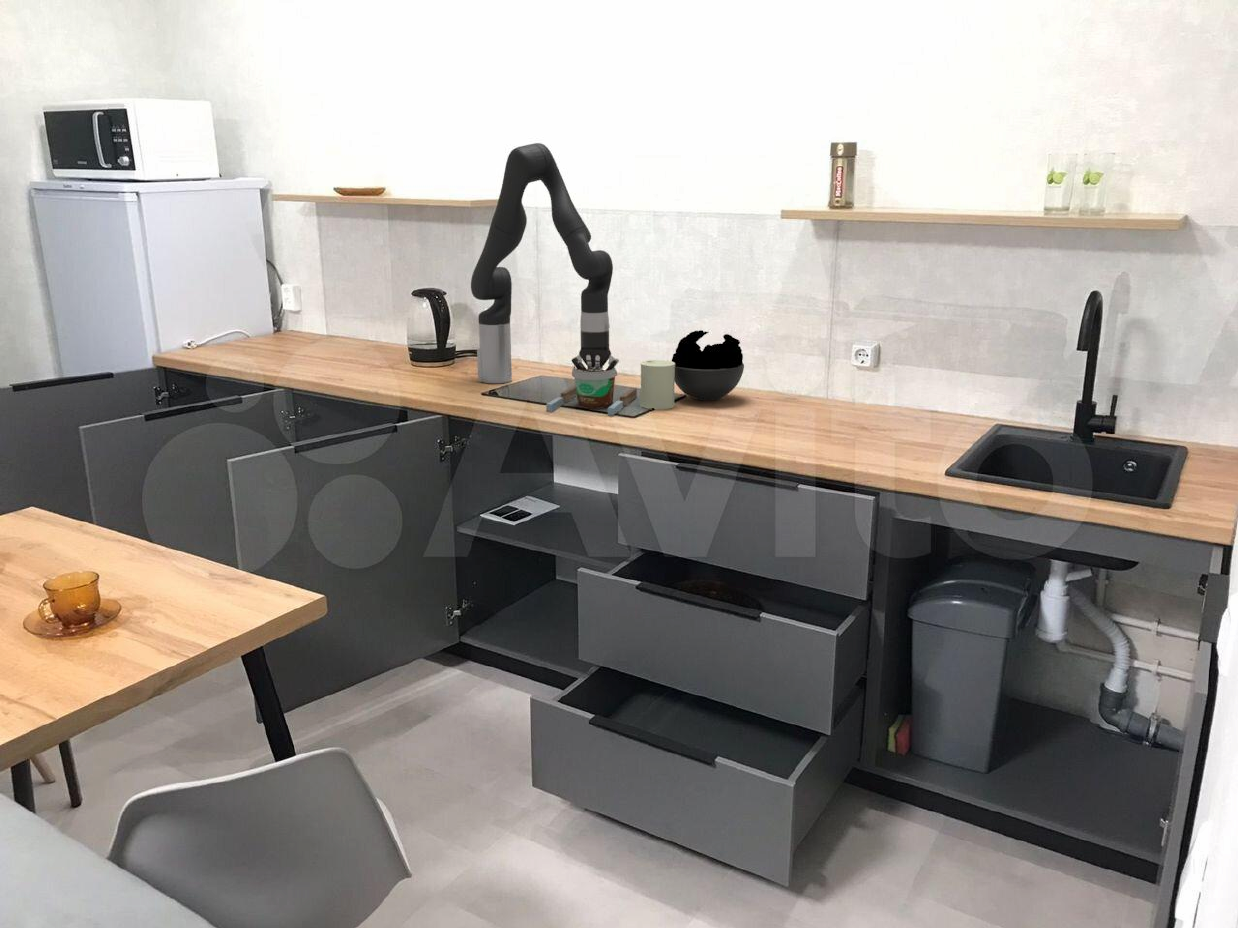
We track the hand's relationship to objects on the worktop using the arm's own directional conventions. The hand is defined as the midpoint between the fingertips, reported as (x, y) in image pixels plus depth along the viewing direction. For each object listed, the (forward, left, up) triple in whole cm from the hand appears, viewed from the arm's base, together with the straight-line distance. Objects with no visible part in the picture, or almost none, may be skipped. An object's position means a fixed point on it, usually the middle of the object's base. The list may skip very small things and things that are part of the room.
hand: (595, 393), depth 264 cm
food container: (0, -4, -3) cm, 5 cm away
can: (+17, +2, -3) cm, 17 cm away
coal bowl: (+28, +13, -3) cm, 31 cm away
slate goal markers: (0, -8, -3) cm, 9 cm away
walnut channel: (0, +5, -3) cm, 6 cm away
